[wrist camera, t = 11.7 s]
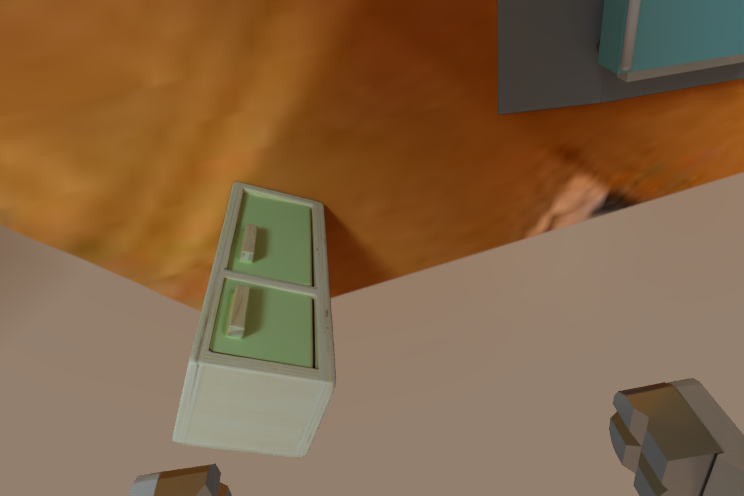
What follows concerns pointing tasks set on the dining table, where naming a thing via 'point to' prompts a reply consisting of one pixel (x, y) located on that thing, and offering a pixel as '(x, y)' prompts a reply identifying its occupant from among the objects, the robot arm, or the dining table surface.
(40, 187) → the dining table surface
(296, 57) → the dining table surface
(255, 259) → the toy refrigerator
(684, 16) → the teal handled box
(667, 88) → the loading dock
